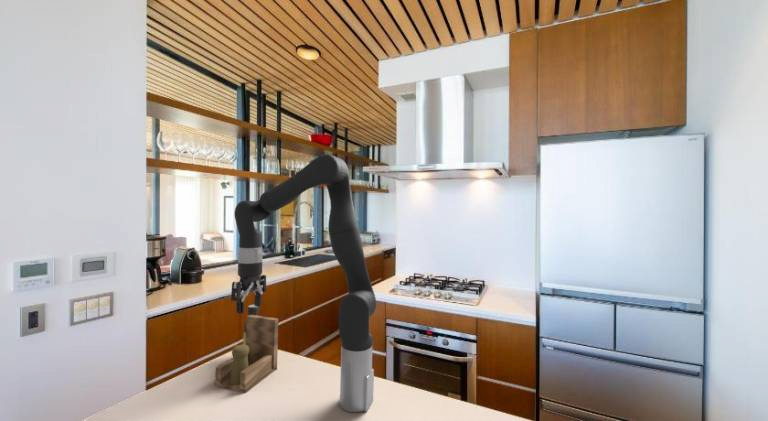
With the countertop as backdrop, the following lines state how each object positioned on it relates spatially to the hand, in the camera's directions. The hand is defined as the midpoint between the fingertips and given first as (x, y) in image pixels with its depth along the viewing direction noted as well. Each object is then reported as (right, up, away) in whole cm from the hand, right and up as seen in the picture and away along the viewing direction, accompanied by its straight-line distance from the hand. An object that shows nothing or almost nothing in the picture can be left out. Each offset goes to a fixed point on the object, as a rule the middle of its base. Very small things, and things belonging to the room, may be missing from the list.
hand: (249, 309), depth 106 cm
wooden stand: (-2, -23, +2) cm, 24 cm away
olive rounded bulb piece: (-2, -23, -2) cm, 23 cm away
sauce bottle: (-6, -24, +16) cm, 29 cm away
